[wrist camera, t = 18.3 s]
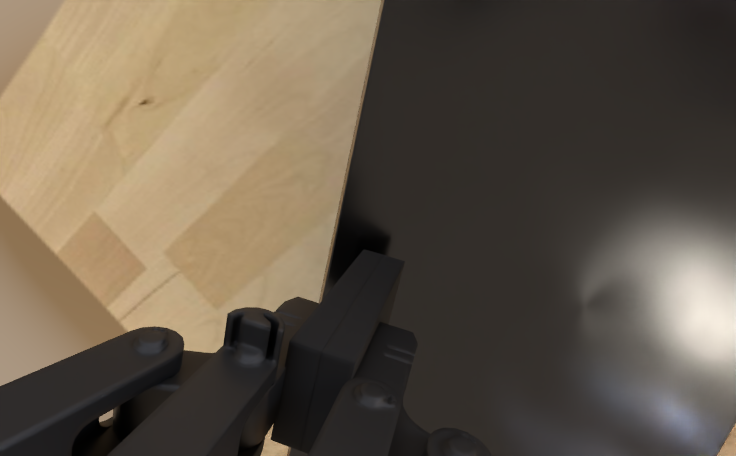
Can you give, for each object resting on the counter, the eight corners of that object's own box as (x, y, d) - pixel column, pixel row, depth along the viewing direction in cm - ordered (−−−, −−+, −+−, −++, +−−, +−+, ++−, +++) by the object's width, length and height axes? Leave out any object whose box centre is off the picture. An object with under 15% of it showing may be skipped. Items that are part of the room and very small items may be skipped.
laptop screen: (267, 551, 22) (265, 568, 22) (432, -250, 13) (440, -269, 12) (641, 554, 27) (651, 568, 26) (976, -36, 17) (1006, -40, 16)
